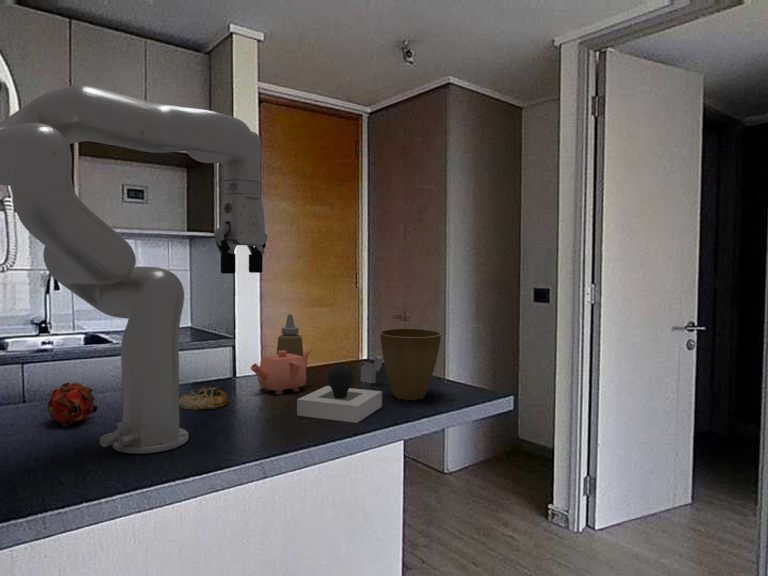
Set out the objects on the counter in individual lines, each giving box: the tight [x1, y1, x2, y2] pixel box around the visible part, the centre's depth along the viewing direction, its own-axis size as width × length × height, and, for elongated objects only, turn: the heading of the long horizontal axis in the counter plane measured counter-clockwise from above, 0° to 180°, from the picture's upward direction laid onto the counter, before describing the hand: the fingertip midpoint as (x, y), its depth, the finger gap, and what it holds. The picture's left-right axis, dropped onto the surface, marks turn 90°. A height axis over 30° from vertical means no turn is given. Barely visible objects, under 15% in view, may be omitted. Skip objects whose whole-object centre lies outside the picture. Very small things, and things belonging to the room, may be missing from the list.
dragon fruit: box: [46, 382, 99, 427], centre depth 114 cm, size 8×8×12 cm
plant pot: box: [379, 327, 442, 401], centre depth 137 cm, size 15×15×16 cm
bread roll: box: [179, 386, 230, 411], centre depth 129 cm, size 11×11×5 cm
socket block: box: [296, 385, 383, 424], centre depth 124 cm, size 14×14×4 cm
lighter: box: [360, 354, 384, 384], centre depth 152 cm, size 7×2×8 cm, turn 48°
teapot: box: [250, 350, 313, 395], centre depth 143 cm, size 14×12×10 cm
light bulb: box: [327, 363, 354, 401], centre depth 124 cm, size 6×6×10 cm
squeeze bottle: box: [276, 314, 304, 357], centre depth 156 cm, size 8×8×18 cm
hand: (242, 273), depth 119 cm, fingers open, 9 cm apart
